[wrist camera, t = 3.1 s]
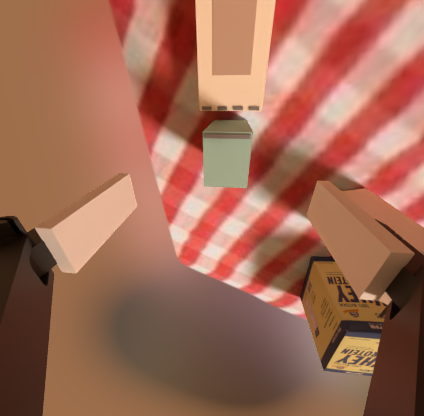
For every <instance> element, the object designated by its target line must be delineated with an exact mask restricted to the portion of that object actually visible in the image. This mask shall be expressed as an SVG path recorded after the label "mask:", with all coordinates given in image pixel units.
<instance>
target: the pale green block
mask: <svg viewBox="0 0 424 416" xmlns="http://www.w3.org/2000/svg"><path fill="white" fill-rule="evenodd" d="M252 136H253V132H252V130H251V128H250V126H249V124H248V122H247V120H214V121H213V122H212V123H211V124H210V125H209V126H208V127H207V128H206V129H205V130H204V131H203V165H204V186H211V187H233V188H247V183H248V174H249V164H250V155H251V146H252Z"/></svg>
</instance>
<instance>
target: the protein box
mask: <svg viewBox="0 0 424 416" xmlns="http://www.w3.org/2000/svg"><path fill="white" fill-rule="evenodd" d="M300 298H301V301H302V304H303V307H304V310H305V314H306V317H307V320H308V323H309V326H310V329H311V332H312V335H313V338H314V341H315V344H316V347H317V351H318V354H319V357H320V360H321V363H322V366H323V369H324V371H332V372H340V373H349V374H358V375H368V376H372V374H373V369H374V365H375V360H376V356H377V351H378V346H379V342H380V337H381V333H382V328H383V324H384V319H385V315H384V316H383V317H382V318H381V317H379V315H380V314H381V312H382V311H383V310H384V309H385V308H386V306H387V304H385V303H383V302H380V301H374V300H363V299H359V298H358V297H357V295H356V294H355V292H354V290H353V289H352V287H351V286H350V284H349V282H348V281H347V279H346V278H345V276H344V275H343V273H342V271H341V270H340V268H339V267H338V265H337V263H336V262H335V260H334V259H333V257H311V260H310V264H309V267H308V271H307V275H306V278H305V282H304V285H303V289H302V293H301V296H300Z"/></svg>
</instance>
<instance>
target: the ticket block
mask: <svg viewBox="0 0 424 416" xmlns="http://www.w3.org/2000/svg"><path fill="white" fill-rule="evenodd" d="M195 1H196V30H197V60H198V89H199V111H262V106H263V98H264V90H265V82H266V74H267V66H268V58H269V50H270V42H271V34H272V25H273V17H274V9H275V1H276V0H195Z"/></svg>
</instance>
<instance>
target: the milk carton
mask: <svg viewBox="0 0 424 416" xmlns="http://www.w3.org/2000/svg"><path fill="white" fill-rule="evenodd" d="M342 192H343V193H344V194H345V195H347V196H348V197H349V198H350V199H351V200H352V201H354V202H355V203H356V204H357V205H358V206H359V207H361V208H362V209H363V210H364V211H365V212H367V213H368V214H369V215H370V216H371V217H372V218H374V219H376V220H378V221H380V222H382V223H384V224H386V225H387V226H389V227H390V228H391V229H392V230H394V231H395V232H396V234H398V235H400V236H401V237H402V238H403V240H406V241H407V242H408V243H409V244H411V245H412V246H413V247H414V248H416V249H417V250H418V251H419V252H420V253H422V254H423V255H424V227H422V226H421V225H419V224H418V223H416V222H415V221H413V220H412V219H410V218H409V217H407V216H406V215H405V214H403V213H402V212H400V211H399V210H397V209H396V208H394V207H393V206H391V205H390V204H388V203H387V202H386V201H384V200H383V199H381V198H380V197H378V196H377V195H375V194H374V193H372V192H371V191H370V190H368V189H366V188H364V189H356V190H347V191H342ZM378 301H380V302H383V303H385V304H387V305H388V304H389V303H390V302H391V301H392V299H391V298H390V297H389V295H388V294H387V293H386V292H385V293H384V294H383V295H382V297H381V298H380V299H379V300H378Z"/></svg>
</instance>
